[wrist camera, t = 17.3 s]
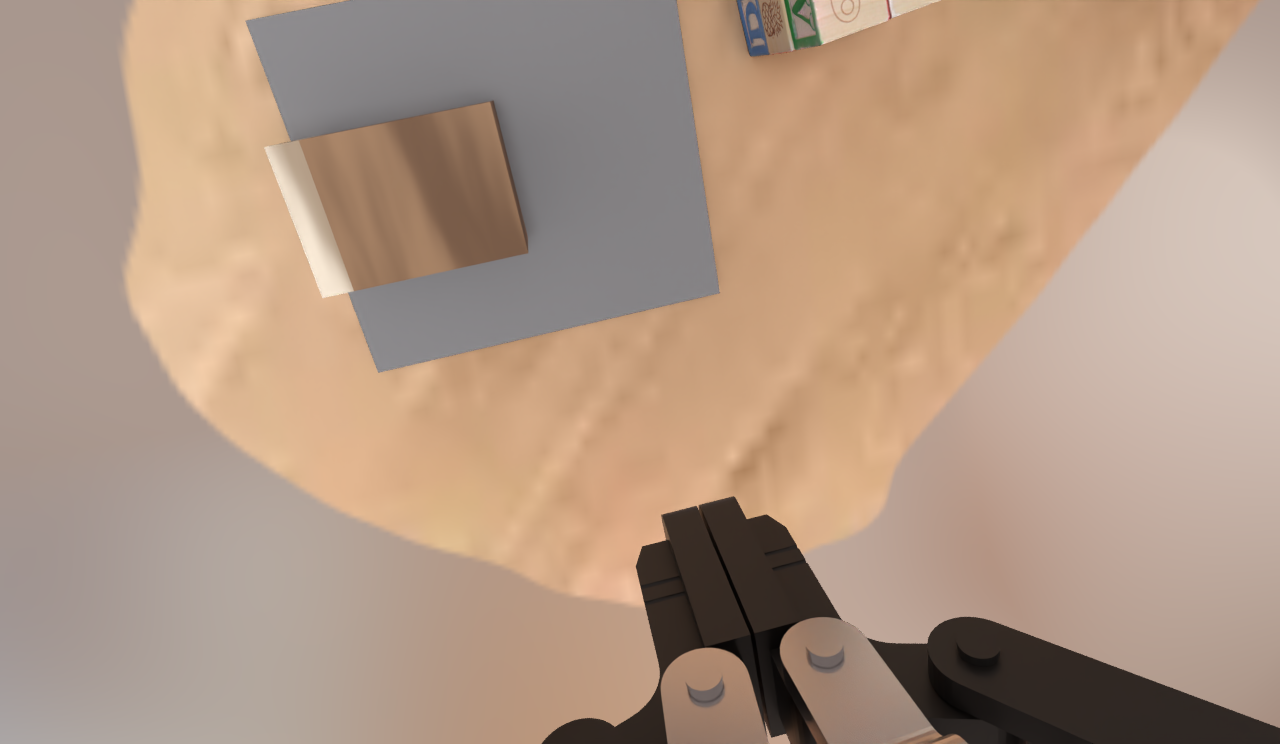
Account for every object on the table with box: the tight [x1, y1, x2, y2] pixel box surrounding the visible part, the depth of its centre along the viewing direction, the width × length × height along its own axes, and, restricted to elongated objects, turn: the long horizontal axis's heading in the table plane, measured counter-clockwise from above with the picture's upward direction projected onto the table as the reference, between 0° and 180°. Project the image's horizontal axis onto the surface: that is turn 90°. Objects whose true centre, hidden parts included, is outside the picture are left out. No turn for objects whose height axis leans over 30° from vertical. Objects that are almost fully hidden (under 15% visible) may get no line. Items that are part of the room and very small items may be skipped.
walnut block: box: [264, 101, 528, 298], centre depth 34 cm, size 4×7×10 cm
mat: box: [246, 0, 720, 373], centre depth 36 cm, size 20×18×1 cm
